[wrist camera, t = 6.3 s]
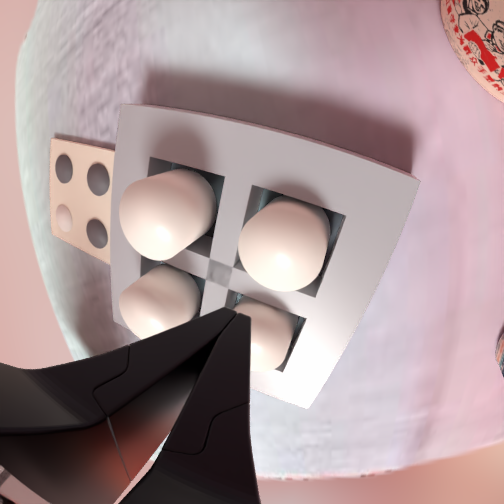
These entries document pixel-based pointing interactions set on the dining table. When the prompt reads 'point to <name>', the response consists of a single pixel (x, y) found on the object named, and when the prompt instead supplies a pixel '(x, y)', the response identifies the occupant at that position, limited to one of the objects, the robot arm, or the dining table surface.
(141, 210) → the button
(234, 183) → the board
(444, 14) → the teacup with lid
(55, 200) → the card
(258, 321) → the button
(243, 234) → the button
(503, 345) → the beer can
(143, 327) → the button
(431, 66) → the dining table surface
